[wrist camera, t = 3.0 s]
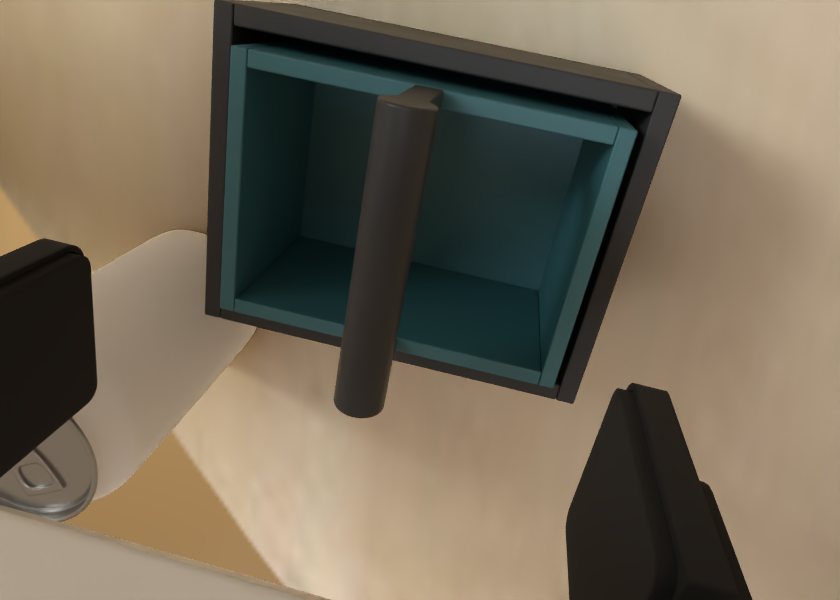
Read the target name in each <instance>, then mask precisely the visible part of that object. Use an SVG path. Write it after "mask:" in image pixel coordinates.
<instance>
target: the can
mask: <svg viewBox="0 0 840 600" xmlns="http://www.w3.org/2000/svg"><path fill="white" fill-rule="evenodd" d="M206 255H207V235H206V234H203V233H199V232H195V231H190V230H171V231H167V232H164V233H162V234H159V235H157V236H155V237H153V238H151V239H149V240H148V241H146V242H144V243H142V244H141V245H139V246H137V247H135V248H133V249H132V250H130V251H128V252H126V253H125V254H123V255H121V256H119V257H118V258H116V259H114V260H112V261H111V262H109V263H107V264H106V265H104V266H102V267H100V268H99V269H97V270H95V271H93V272H92V273H91V279H92V296H93V314H94V331H95V348H96V366H97V389H96V392H95V394H94V396H93V398H92V400H91V401H90V402H89V403H88V404H87V405H86V406H85V407H83V408H82V409H81V410H80V411H79V412H77V413H76V414H75V415H74V416H73V417H72V418H70V419H69V420H68V421H67V422H66V423H65V424H63V425H62V426H61V427H60V428H59V429H57V430H56V431H55V432H54V433H53V434H52V435H50V436H49V437H48V438H47V439H46V440H44V441H43V442H42V443H41V444H40V445H39V446H37V447H36V448H35V449H34V450H33V451H31V452H30V453H29V454H28V455H27V456H26V457H24V458H23V459H22V460H21V461H20V462H18V463H17V464H16V465H15V466H14V467H13V468H11V469H10V470H9V471H8V472H7V473H5V474H4V475H3V476H2V477H1V478H0V505H2V506H6V507H9V508H13V509H17V510H20V511H24V512H27V513H31V514H34V515H38V516H41V517H45V518H48V519H52V520H55V521H59V522H62V521H66V520H68V519H71V518H73V517H75V516H77V515H78V514H79V513H80V512H82V511H83V510H84V509H85V508H86V507H87V506H88V505H89V504H90V502H91V501H94V500H96V499H98V498H101V497H103V496H105V495H108V494H109V493H111V492H113V491H115V490H116V489H118V488H119V487H120V486H121V485H122V484H124V483H125V482H126V481H127V480H128V479H129V478H130V477H131V476H132V475H133V474H134V473H135V472H136V470H137V469H138V468H139V467H140V466H141V465H142V464H143V463H144V462H145V460H146V459H147V458H148V457H149V456H150V455H151V454H152V453H153V451H154V450H155V449H156V448H157V447H158V446H159V445H160V443H161V442H162V441H163V440H164V439H165V438H166V436H167V435H168V434H169V433H170V432H171V431H172V430H173V428H174V427H175V426H176V425H177V424H178V423H179V422H180V420H181V419H182V418H183V417H184V416H185V415H186V414H187V412H188V411H189V410H190V409H191V408H192V407H193V405H194V404H195V403H196V402H197V401H198V400H199V399H200V397H201V396H202V395H203V394H204V393H205V392H206V390H207V389H208V388H209V387H210V386H211V385H212V383H213V382H214V381H215V380H216V379H217V378H218V376H219V375H220V374H221V373H222V372H223V371H224V369H225V368H226V367H227V366H228V365H229V364H230V362H231V361H232V360H233V359H234V358H235V357H236V355H237V354H238V353H239V352H240V351H241V350H242V348H243V347H244V346H245V345H246V343H247V342H248V341H249V340H250V338H251V337H252V336H253V334H254V332H255V331H256V328H257V327H255V326H251V325H246V324H242V323H238V322H234V321H230V320H226V319H222V318H221V317H220V318H218V317H213V316H209V315H206V314H205V288H206Z"/></svg>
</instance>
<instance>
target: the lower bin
mask: <svg viewBox="0 0 840 600" xmlns="http://www.w3.org/2000/svg"><path fill="white" fill-rule="evenodd" d="M297 39H300V40H305V41H309V42H314V43H319V44H324V45H328V46H333V47H338V48H343V49H348V50H352V51H357V52H362V53H367V54H372V55H376V56H381V57H386V58H391V59H396V60H400V61H405V62H410V63H415V64H419V65H424V66H429V67H434V68H439V69H443V70H448V71H453V72H458V73H463V74H467V75H472V76H477V77H482V78H487V79H491V80H496V81H501V82H506V83H510V84H515V85H520V86H525V87H530V88H534V89H539V90H544V91H549V92H554V93H558V94H563V95H568V96H573V97H578V98H582V99H587V100H592V101H597V102H601V103H606V104H611V105H612V106H613V107H614V108H615V109H616V110H617V111H618V112H619V113H620V114H621V115H622V116H623V117H624V118H625V119H626V120H627V121H628V122H629V123H630V124H631V125H632V126H633V127H634V128H635V129H636V130H637V136H636V139H635V142H634V145H633V148H632V151H631V154H630V157H629V160H628V163H627V166H626V169H625V173H624V176H623V179H622V182H621V185H620V188H619V191H618V194H617V197H616V200H615V203H614V206H613V209H612V212H611V215H610V218H609V221H608V224H607V227H606V230H605V233H604V236H603V239H602V242H601V245H600V248H599V251H598V254H597V257H596V260H595V263H594V266H593V269H592V272H591V275H590V278H589V281H588V285H587V288H586V291H585V294H584V297H583V300H582V303H581V306H580V309H579V312H578V315H577V318H576V321H575V324H574V327H573V330H572V333H571V336H570V339H569V342H568V345H567V348H566V351H565V354H564V357H563V360H562V363H561V366H560V369H559V372H558V375H557V378H556V381H555V384H554V387H553V388H549V387H545V386H541V385H539V384H533V383H528V382H524V381H520V380H516V379H512V378H508V377H504V376H499V375H495V374H491V373H487V372H483V371H479V370H474V369H470V368H466V367H462V366H458V365H454V364H450V363H445V362H441V361H437V360H433V359H429V358H425V357H421V356H416V355H412V354H408V353H404V352H400V351H396V350H395V351H394V355H393V360H395V361H399V362H403V363H407V364H411V365H416V366H420V367H424V368H428V369H432V370H436V371H440V372H444V373H449V374H453V375H457V376H461V377H465V378H469V379H473V380H477V381H482V382H486V383H490V384H494V385H498V386H502V387H506V388H510V389H515V390H519V391H523V392H527V393H531V394H535V395H539V396H543V397H548V398H552V399H555V398H556V399H557V400H559V401H563V402H567V403H571V404H573V403H574V400H575V397H576V394H577V392H578V389H579V386H580V383H581V380H582V377H583V375H584V372H585V369H586V366H587V363H588V360H589V358H590V355H591V352H592V349H593V346H594V343H595V341H596V338H597V335H598V332H599V329H600V326H601V323H602V321H603V318H604V315H605V312H606V309H607V306H608V304H609V301H610V298H611V295H612V292H613V289H614V287H615V284H616V281H617V278H618V275H619V272H620V270H621V267H622V264H623V261H624V258H625V255H626V252H627V250H628V247H629V244H630V241H631V238H632V235H633V233H634V230H635V227H636V224H637V221H638V218H639V216H640V213H641V210H642V207H643V204H644V201H645V199H646V196H647V193H648V190H649V187H650V184H651V181H652V179H653V176H654V173H655V170H656V167H657V164H658V162H659V159H660V156H661V153H662V150H663V147H664V145H665V142H666V139H667V136H668V133H669V130H670V128H671V125H672V122H673V119H674V116H675V113H676V110H677V108H678V105H679V102H680V99H681V95H680V94H678V93H676V92H674V91H672V90H670V89H668V88H666V87H664V86H662V85H660V84H658V83H656V82H654V81H652V80H650V79H648V78H646V77H644V76H641V75H639V74H634V73H629V72H624V71H619V70H614V69H609V68H604V67H600V66H595V65H590V64H585V63H580V62H575V61H570V60H565V59H561V58H556V57H551V56H546V55H541V54H536V53H531V52H526V51H522V50H517V49H512V48H507V47H502V46H497V45H492V44H487V43H482V42H478V41H473V40H468V39H463V38H458V37H453V36H448V35H443V34H439V33H434V32H429V31H424V30H419V29H414V28H409V27H404V26H400V25H395V24H390V23H385V22H380V21H375V20H370V19H365V18H360V17H356V16H351V15H346V14H341V13H336V12H331V11H326V10H321V9H317V8H312V7H307V6H302V5H297V4H286V3H270V2H255V1H239V0H215V1H214V26H213V59H212V92H211V124H210V157H209V190H208V223H207V255H206V288H205V314H206V315H209V316H213V317H218V318H220V317H221V318H222V319H226V320H230V321H234V322H238V323H242V324H246V325H251V326H255V327H259V328H263V329H267V330H271V331H275V332H279V333H284V334H288V335H292V336H296V337H300V338H304V339H308V340H312V341H317V342H321V343H325V344H329V345H333V346H337V347H341V345H342V337H338V336H334V335H329V334H325V333H321V332H317V331H313V330H309V329H305V328H300V327H296V326H292V325H288V324H284V323H280V322H276V321H271V320H267V319H263V318H259V317H255V316H251V315H246V314H242V313H238V312H235V311H230V310H226V309H222V308H220V291H221V268H222V244H223V220H224V197H225V173H226V150H227V126H228V103H229V79H230V55H231V46H232V45H241V44H252V43H263V42H274V41H285V40H297Z"/></svg>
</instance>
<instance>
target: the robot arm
mask: <svg viewBox="0 0 840 600" xmlns="http://www.w3.org/2000/svg"><path fill="white" fill-rule="evenodd" d="M96 389H97V366H96V348H95V331H94V314H93V296H92V279H91V265H90V262H89V260H88V258H86V257H85V256H84V254H83V252H82V251H81V249H80V248H79V247H77V246H74V245H70V244H66V243H62V242H58V241H54V240H49V239H45V238H44V239H40V240H37V241H35V242H32V243H30V244H28V245H26V246H23V247H21V248H19V249H16V250H14V251H12V252H10V253H7V254H5V255H3V256H0V478H1V477H2V476H3V475H4V474H5V473H7V472H8V471H9V470H10V469H11V468H13V467H14V466H15V465H16V464H17V463H18V462H20V461H21V460H22V459H23V458H24V457H26V456H27V455H28V454H29V453H30V452H31V451H33V450H34V449H35V448H36V447H37V446H39V445H40V444H41V443H42V442H43V441H44V440H46V439H47V438H48V437H49V436H50V435H52V434H53V433H54V432H55V431H56V430H57V429H59V428H60V427H61V426H62V425H63V424H65V423H66V422H67V421H68V420H69V419H70V418H72V417H73V416H74V415H75V414H76V413H77V412H79V411H80V410H81V409H82V408H83V407H85V406H86V405H87V404H88V403H89V402H90V401H91V400H92V398H93V396H94V394H95V392H96ZM566 544H567V562H568V581H569V599H570V600H752V597H751V595H750V592H749V589H748V587H747V584H746V581H745V579H744V576H743V573H742V570H741V568H740V565H739V562H738V560H737V557H736V554H735V552H734V549H733V546H732V543H731V541H730V538H729V535H728V533H727V530H726V527H725V525H724V522H723V519H722V516H721V514H720V511H719V508H718V506H717V503H716V500H715V498H714V495H713V492H712V491H711V489H710V487H709V485H707V484H706V483H704V482H702V481H699V478H698V476H697V473H696V470H695V467H694V464H693V461H692V458H691V456H690V453H689V450H688V447H687V444H686V441H685V438H684V436H683V433H682V430H681V427H680V424H679V421H678V419H677V416H676V413H675V410H674V407H673V404H672V401H671V399H670V396H669V394H668V392H667V391H663V390H659V389H655V388H651V387H647V386H643V385H639V384H635V383H631V384H630V385H629V386H628V388H627V389H626V390H623V389H619V388H617V389H616V390H615V392H614V394H613V396H612V398H611V401H610V403H609V406H608V409H607V411H606V414H605V416H604V419H603V422H602V424H601V427H600V430H599V432H598V435H597V437H596V440H595V443H594V445H593V448H592V450H591V453H590V456H589V458H588V461H587V464H586V466H585V469H584V471H583V474H582V477H581V479H580V482H579V484H578V487H577V490H576V492H575V495H574V497H573V500H572V503H571V505H570V508H569V511H568V515H567V521H566ZM0 600H330V599H327V598H323V597H320V596H316V595H313V594H310V593H306V592H303V591H299V590H296V589H292V588H289V587H286V586H282V585H279V584H275V583H272V582H268V581H265V580H262V579H258V578H254V577H251V576H248V575H244V574H241V573H238V572H234V571H230V570H227V569H224V568H220V567H217V566H213V565H210V564H206V563H203V562H199V561H196V560H192V559H188V558H185V557H182V556H178V555H174V554H171V553H168V552H164V551H160V550H157V549H154V548H150V547H147V546H143V545H140V544H136V543H132V542H129V541H126V540H122V539H119V538H115V537H112V536H108V535H105V534H101V533H98V532H94V531H91V530H87V529H84V528H80V527H76V526H73V525H69V524H66V523H63V522H59V521H55V520H52V519H48V518H45V517H41V516H38V515H34V514H31V513H27V512H24V511H20V510H17V509H13V508H9V507H6V506H2V505H0Z"/></svg>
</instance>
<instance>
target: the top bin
mask: <svg viewBox="0 0 840 600" xmlns="http://www.w3.org/2000/svg"><path fill="white" fill-rule="evenodd" d="M636 136H637V130H636V129H635V128H634V127H633V126H632V125H631V124H630V123H629V122H628V121H627V120H626V119H625V118H624V117H623V116H622V115H621V114H620V113H619V112H618V111H617V110H616V109H615V108H614V107H613V106H612V105H611V104H606V103H601V102H597V101H592V100H587V99H582V98H578V97H573V96H568V95H563V94H558V93H554V92H549V91H544V90H539V89H534V88H530V87H525V86H520V85H515V84H510V83H506V82H501V81H496V80H491V79H487V78H482V77H477V76H472V75H467V74H463V73H458V72H453V71H448V70H443V69H439V68H434V67H429V66H424V65H419V64H415V63H410V62H405V61H400V60H396V59H391V58H386V57H381V56H376V55H372V54H367V53H362V52H357V51H352V50H348V49H343V48H338V47H333V46H328V45H324V44H319V43H314V42H309V41H305V40H300V39H297V40H285V41H274V42H263V43H252V44H241V45H232V46H231V55H230V79H229V103H228V126H227V150H226V173H225V197H224V220H223V244H222V268H221V291H220V308H222V309H226V310H230V311H235V312H238V313H242V314H246V315H251V316H255V317H259V318H263V319H267V320H271V321H276V322H280V323H284V324H288V325H292V326H296V327H300V328H305V329H309V330H313V331H317V332H321V333H325V334H329V335H334V336H338V337H342V345H341V352H340V359H339V366H338V372H337V379H336V386H335V393H334V403H335V406H336V407H337V409H338V410H339V411H341V412H342V413H344V414H346V415H348V416H351V417H355V418H369V417H373V416H375V415H377V414H379V413H380V412H381V410H382V409H383V407H384V402H385V397H386V392H387V386H388V381H389V376H390V371H391V365H392V360H393V355H394V351H395V350H396V351H400V352H404V353H408V354H412V355H416V356H421V357H425V358H429V359H433V360H437V361H441V362H445V363H450V364H454V365H458V366H462V367H466V368H470V369H474V370H479V371H483V372H487V373H491V374H495V375H499V376H504V377H508V378H512V379H516V380H520V381H524V382H528V383H533V384H539V385H541V386H545V387H549V388H553V387H554V384H555V381H556V378H557V375H558V372H559V369H560V366H561V363H562V360H563V357H564V354H565V351H566V348H567V345H568V342H569V339H570V336H571V333H572V330H573V327H574V324H575V321H576V318H577V315H578V312H579V309H580V306H581V303H582V300H583V297H584V294H585V291H586V288H587V285H588V281H589V278H590V275H591V272H592V269H593V266H594V263H595V260H596V257H597V254H598V251H599V248H600V245H601V242H602V239H603V236H604V233H605V230H606V227H607V224H608V221H609V218H610V215H611V212H612V209H613V206H614V203H615V200H616V197H617V194H618V191H619V188H620V185H621V182H622V179H623V176H624V173H625V169H626V166H627V163H628V160H629V157H630V154H631V151H632V148H633V145H634V142H635V139H636Z"/></svg>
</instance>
